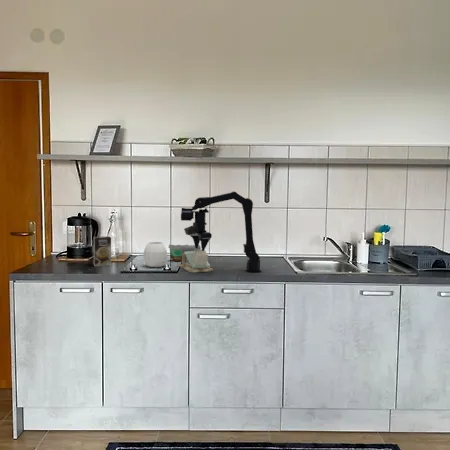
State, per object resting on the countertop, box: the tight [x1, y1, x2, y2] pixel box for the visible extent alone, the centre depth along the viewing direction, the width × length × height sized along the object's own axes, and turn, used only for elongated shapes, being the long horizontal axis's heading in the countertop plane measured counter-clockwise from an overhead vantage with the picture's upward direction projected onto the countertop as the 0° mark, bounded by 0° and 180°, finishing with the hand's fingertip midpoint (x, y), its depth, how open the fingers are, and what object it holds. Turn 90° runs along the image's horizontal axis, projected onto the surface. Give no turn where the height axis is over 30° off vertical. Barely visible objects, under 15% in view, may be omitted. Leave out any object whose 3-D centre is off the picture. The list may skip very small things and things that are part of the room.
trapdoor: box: [181, 244, 211, 268], centre depth 262 cm, size 10×20×5 cm, turn 25°
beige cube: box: [192, 248, 209, 265], centre depth 256 cm, size 6×6×6 cm
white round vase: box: [143, 241, 168, 268], centre depth 266 cm, size 13×13×14 cm
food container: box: [167, 243, 187, 263], centre depth 284 cm, size 12×6×10 cm, turn 101°
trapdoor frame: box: [177, 254, 214, 273], centre depth 262 cm, size 13×20×8 cm
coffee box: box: [93, 236, 112, 267], centre depth 266 cm, size 9×6×16 cm
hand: (199, 249), depth 256 cm, fingers open, 9 cm apart
